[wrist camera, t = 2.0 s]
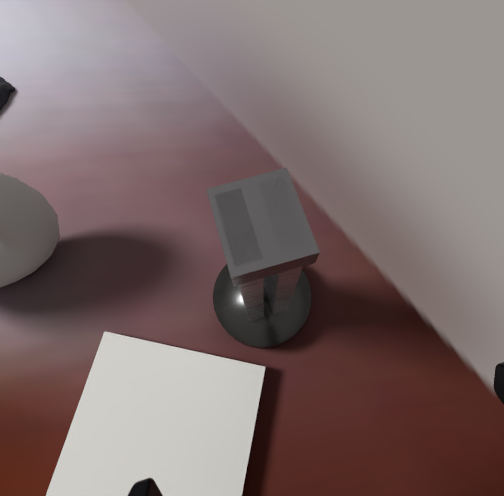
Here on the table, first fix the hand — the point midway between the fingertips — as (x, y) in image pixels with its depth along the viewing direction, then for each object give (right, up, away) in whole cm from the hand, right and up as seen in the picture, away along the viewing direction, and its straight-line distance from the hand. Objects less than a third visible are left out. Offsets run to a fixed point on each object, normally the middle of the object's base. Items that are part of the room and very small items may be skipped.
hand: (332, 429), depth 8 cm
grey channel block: (-1, +1, +13) cm, 14 cm away
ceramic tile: (-7, -6, +11) cm, 14 cm away
